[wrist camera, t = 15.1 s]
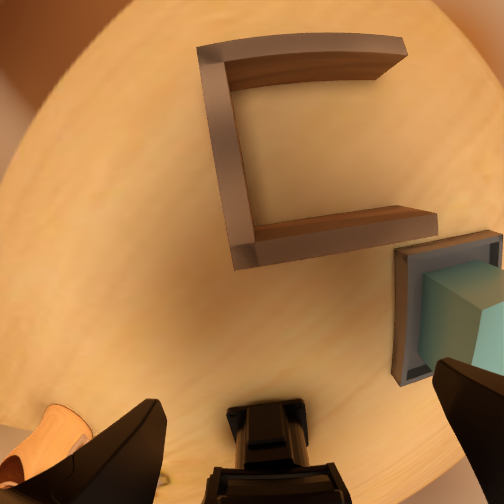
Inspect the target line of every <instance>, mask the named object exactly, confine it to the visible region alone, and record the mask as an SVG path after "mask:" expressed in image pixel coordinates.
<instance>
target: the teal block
mask: <svg viewBox="0 0 504 504" xmlns="http://www.w3.org/2000/svg"><path fill="white" fill-rule="evenodd" d="M417 354H418V355H419V356H420V357H421V358H422V360H423V361H424V362H425V363H426V364H427V365H428V366H429V368H430V369H431V370H432V371H433V372H434V370H435V366H436V363H437V361H438V360H439V359H442V358H445V357H450V358H453V359H455V360H458V361H461V362H464V363H467V364H470V365H473V366H476V367H479V368H482V369H485V370H488V371H491V372H494V373H497V374H500V375H503V376H504V270H502V269H500V268H498V267H496V266H493V265H491V264H489V263H486V262H484V261H482V260H479V259H477V260H474V261H470V262H466V263H462V264H459V265H455V266H451V267H447V268H443V269H439V270H435V271H431V272H427V273H423V286H422V308H421V323H420V334H419V344H418V352H417Z"/></svg>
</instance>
